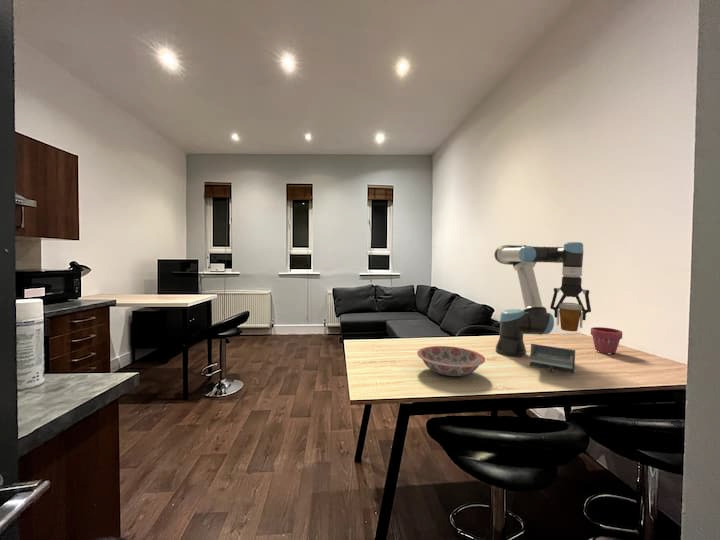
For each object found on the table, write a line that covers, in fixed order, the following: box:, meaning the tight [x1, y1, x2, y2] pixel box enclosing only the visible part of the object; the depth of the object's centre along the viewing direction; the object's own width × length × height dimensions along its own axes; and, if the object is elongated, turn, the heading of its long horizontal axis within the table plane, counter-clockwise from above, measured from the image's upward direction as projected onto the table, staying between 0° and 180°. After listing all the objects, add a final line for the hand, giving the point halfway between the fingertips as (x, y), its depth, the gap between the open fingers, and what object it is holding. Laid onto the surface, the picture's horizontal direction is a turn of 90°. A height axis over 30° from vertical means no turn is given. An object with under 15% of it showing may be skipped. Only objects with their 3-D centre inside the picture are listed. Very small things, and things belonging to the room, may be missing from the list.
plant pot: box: [590, 326, 623, 354], centre depth 185 cm, size 14×14×13 cm
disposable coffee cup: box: [558, 301, 582, 332], centre depth 151 cm, size 10×10×12 cm
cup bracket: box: [529, 343, 576, 374], centre depth 151 cm, size 18×20×10 cm
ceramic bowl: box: [416, 345, 486, 377], centre depth 148 cm, size 29×29×8 cm
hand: (569, 325), depth 151 cm, fingers closed on disposable coffee cup, 8 cm apart
